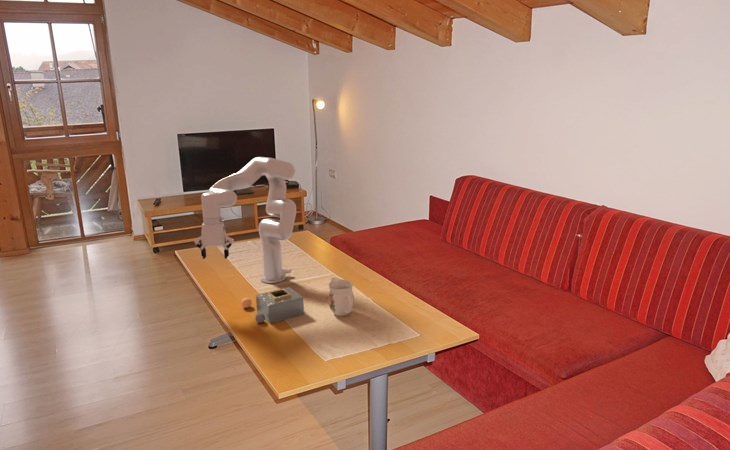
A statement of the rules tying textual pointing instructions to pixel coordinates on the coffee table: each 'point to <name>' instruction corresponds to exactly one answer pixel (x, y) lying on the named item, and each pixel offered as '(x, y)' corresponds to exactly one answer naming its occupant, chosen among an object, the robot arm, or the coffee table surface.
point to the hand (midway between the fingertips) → (215, 257)
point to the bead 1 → (246, 302)
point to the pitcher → (340, 296)
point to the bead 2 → (260, 318)
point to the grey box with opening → (280, 304)
